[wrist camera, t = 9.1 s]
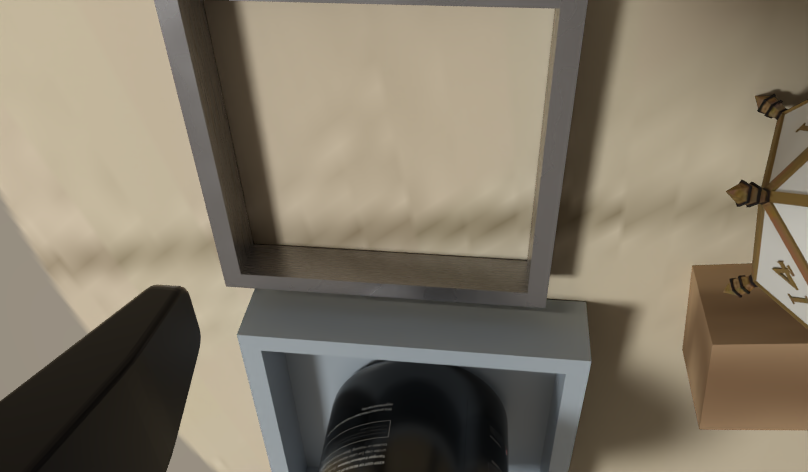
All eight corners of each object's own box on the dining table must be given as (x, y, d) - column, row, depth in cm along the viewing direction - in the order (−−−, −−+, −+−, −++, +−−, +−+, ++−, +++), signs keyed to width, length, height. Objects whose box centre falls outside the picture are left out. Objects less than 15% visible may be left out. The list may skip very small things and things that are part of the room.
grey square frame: (544, 275, 24) (545, 308, 23) (239, 256, 26) (226, 286, 24) (586, -41, 18) (590, -17, 17) (170, -49, 19) (147, -26, 18)
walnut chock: (869, 343, 25) (909, 431, 22) (681, 345, 26) (699, 429, 23) (900, 254, 22) (950, 341, 20) (691, 262, 24) (712, 344, 21)
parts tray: (551, 485, 32) (553, 542, 30) (296, 461, 34) (282, 515, 32) (586, 302, 25) (591, 361, 23) (258, 280, 26) (236, 334, 24)
